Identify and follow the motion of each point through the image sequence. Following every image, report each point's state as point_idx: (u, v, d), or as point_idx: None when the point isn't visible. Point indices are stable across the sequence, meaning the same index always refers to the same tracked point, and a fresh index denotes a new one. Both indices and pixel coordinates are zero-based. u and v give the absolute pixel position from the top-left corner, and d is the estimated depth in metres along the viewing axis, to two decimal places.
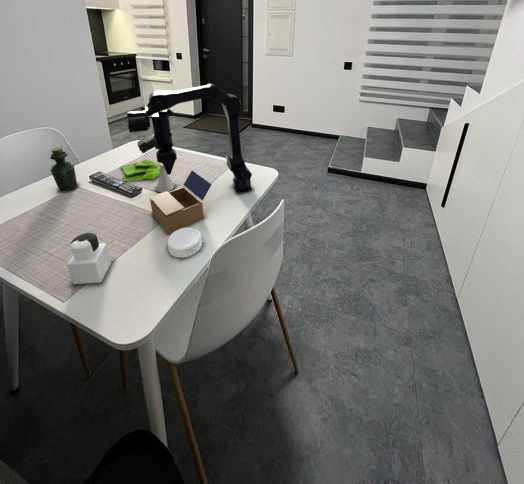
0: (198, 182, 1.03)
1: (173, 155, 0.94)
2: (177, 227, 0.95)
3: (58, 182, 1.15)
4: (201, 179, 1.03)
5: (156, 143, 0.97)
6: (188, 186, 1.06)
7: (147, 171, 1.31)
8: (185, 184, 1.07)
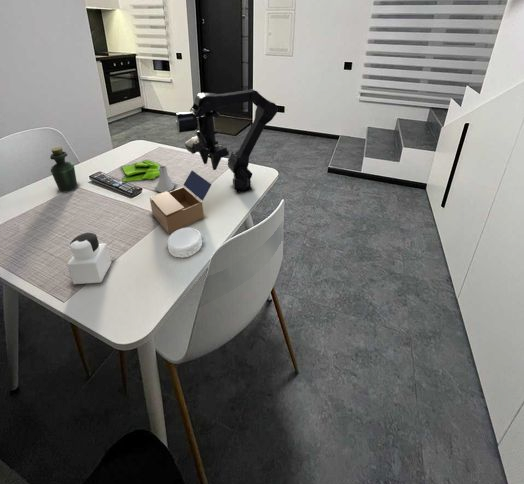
0: (198, 182, 1.03)
1: (227, 151, 1.01)
2: (177, 227, 0.95)
3: (58, 182, 1.15)
4: (201, 179, 1.03)
5: (205, 143, 1.02)
6: (188, 186, 1.06)
7: (147, 171, 1.31)
8: (185, 184, 1.07)
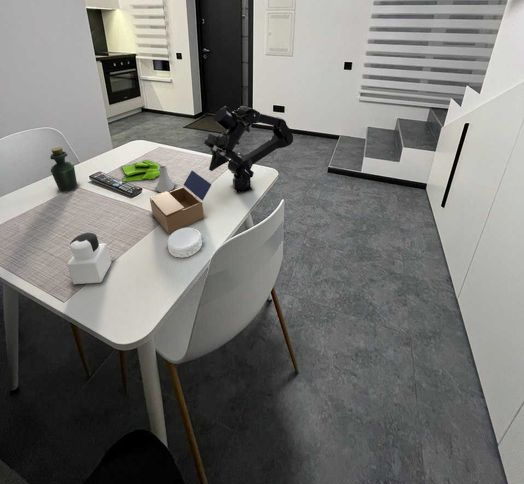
0: (198, 182, 1.03)
1: (241, 160, 1.02)
2: (177, 227, 0.95)
3: (58, 182, 1.15)
4: (201, 179, 1.03)
5: (226, 143, 1.04)
6: (188, 186, 1.06)
7: (147, 171, 1.31)
8: (185, 184, 1.07)
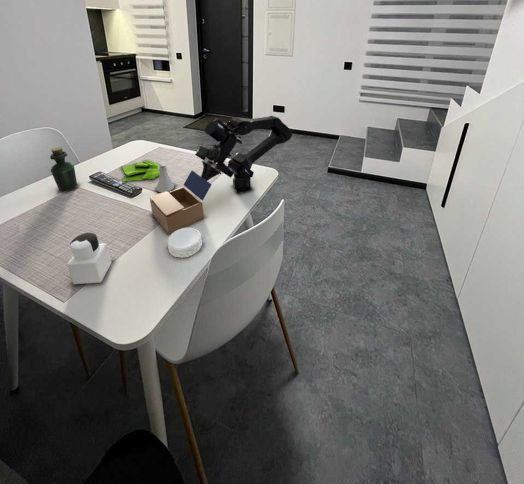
0: (198, 182, 1.03)
1: (232, 173, 1.01)
2: (177, 227, 0.95)
3: (58, 182, 1.15)
4: (201, 179, 1.03)
5: (218, 155, 1.03)
6: (188, 186, 1.06)
7: (147, 171, 1.31)
8: (185, 184, 1.07)
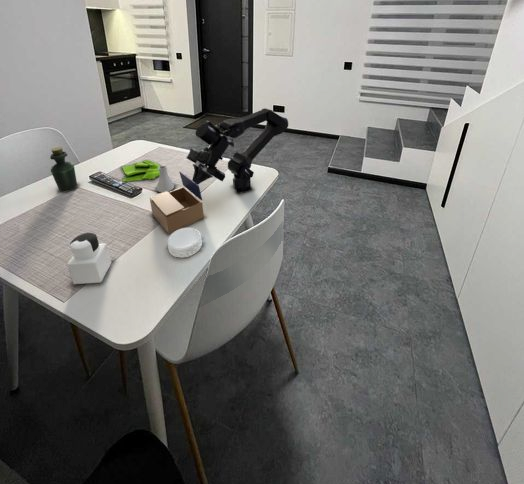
0: (189, 183, 1.01)
1: (224, 177, 0.99)
2: (177, 227, 0.95)
3: (58, 182, 1.15)
4: (189, 180, 1.00)
5: (209, 159, 1.01)
6: (186, 187, 1.05)
7: (147, 171, 1.31)
8: (184, 185, 1.07)
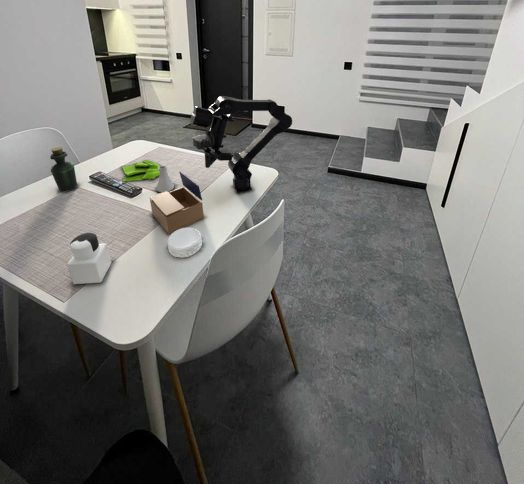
0: (189, 183, 1.01)
1: (231, 156, 1.03)
2: (177, 227, 0.95)
3: (58, 182, 1.15)
4: (189, 180, 1.00)
5: (213, 142, 1.04)
6: (186, 187, 1.05)
7: (147, 171, 1.31)
8: (184, 185, 1.07)
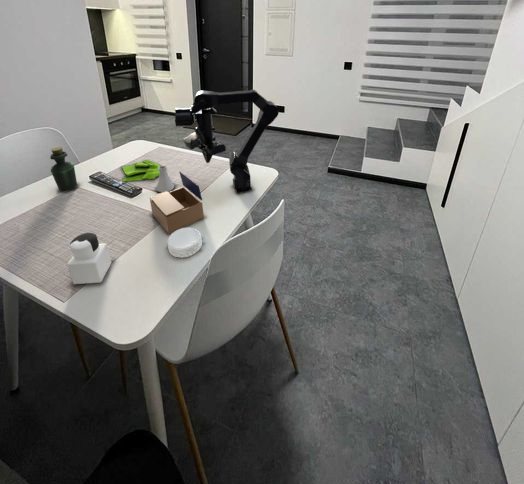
0: (189, 183, 1.01)
1: (224, 147, 1.04)
2: (177, 227, 0.95)
3: (58, 182, 1.15)
4: (189, 180, 1.00)
5: (203, 139, 1.05)
6: (186, 187, 1.05)
7: (147, 171, 1.31)
8: (184, 185, 1.07)
